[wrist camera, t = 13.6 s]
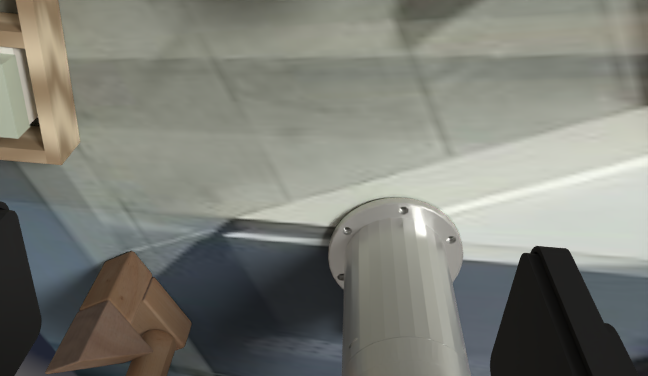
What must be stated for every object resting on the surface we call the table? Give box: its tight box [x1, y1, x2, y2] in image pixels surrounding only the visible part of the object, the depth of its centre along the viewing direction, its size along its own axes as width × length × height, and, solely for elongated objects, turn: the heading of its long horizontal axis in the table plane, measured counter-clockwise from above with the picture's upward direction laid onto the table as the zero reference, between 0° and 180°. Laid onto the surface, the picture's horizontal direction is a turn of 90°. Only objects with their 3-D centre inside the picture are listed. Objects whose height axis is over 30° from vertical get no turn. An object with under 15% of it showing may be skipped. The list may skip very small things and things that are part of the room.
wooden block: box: [45, 251, 192, 376], centre depth 56 cm, size 4×11×18 cm, turn 27°
